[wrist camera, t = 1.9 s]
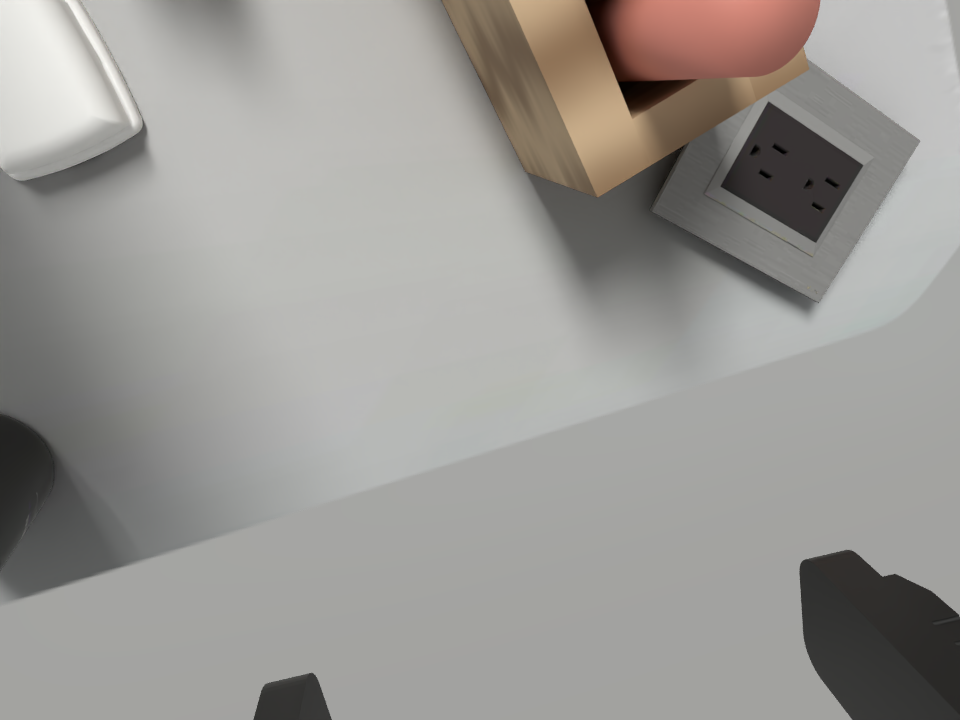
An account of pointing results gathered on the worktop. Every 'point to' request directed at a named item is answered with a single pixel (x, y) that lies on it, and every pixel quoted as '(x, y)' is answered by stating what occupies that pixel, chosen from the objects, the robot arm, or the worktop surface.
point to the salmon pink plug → (701, 36)
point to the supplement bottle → (21, 481)
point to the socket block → (588, 93)
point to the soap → (57, 89)
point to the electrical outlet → (789, 180)
